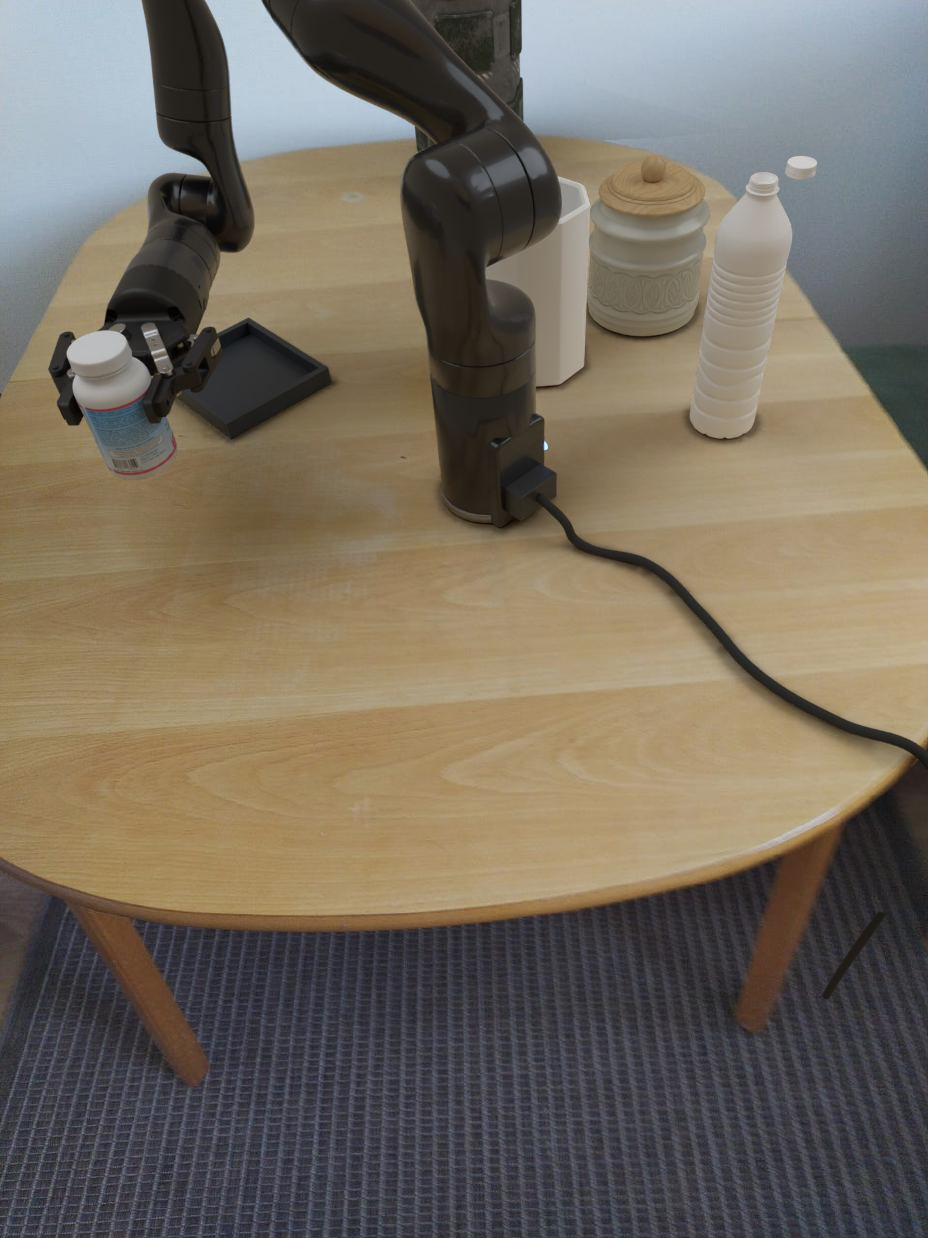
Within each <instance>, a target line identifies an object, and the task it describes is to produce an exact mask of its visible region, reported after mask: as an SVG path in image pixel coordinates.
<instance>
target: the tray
mask: <svg viewBox="0 0 928 1238" xmlns="http://www.w3.org/2000/svg"><path fill="white" fill-rule="evenodd" d="M217 336H218V338H219V342H220V345H221V349H222V352H223V355H222V357H221V359H220V361H219V362H218V364H217V366H216V368H215V370H214V371H213V373H212V375H211V377H210V378H209V380H208V382H207V384H206V386H205V387H204V389H203V390H202V391H200V392H196V393H194V392H191V391H190V389H186V390H182V393H181V395H179V396H178V397H176V399H177V400H179V401H180V402H182V403H183V404H184V405H186V406H187V407H189V408H190V409H191V410H192V411H193V412H195V413H196V414H198V415H199V416H200V417H202V418H203V419H204V420H206V421H207V422H208V423H210V424H211V425H212V426H213V427H214V428H216V429H218V430H219V431H220V432H222V433H223V434H224V435H225V436H226V437H228V438H229V439H231V440H233V439H235V438H236V437H238V436H240V435H241V434H243V433H245V432H247V431H249V430H250V429H253V428H254V427H256V426H257V425H259V424H261V423H263V422H265V421H267V420H268V419H270V418H271V417H273V416H275V415H277V414H279V413H281V412H282V411H284V410H286V409H287V408H289V407H291V406H293V405H295V404H297V403H298V402H300V401H302V400H303V399H305V398H307V397H309V396H311V395H312V394H314V393H316V392H317V391H319V390H321V389H323V388H324V387H325V388H326V386H328V385H330V384H331V383H332V378H331V373H330V368H329V367H328V366H327V365H325V364H324V363H322V362H321V361H319V360H317V359H316V358H314V357H312V356H311V355H309V354H308V353H307V352H305V351H303V350H301V349H299V347H296V346H295V345H294V344H292V343H290V342H288V341H287V340H285V339H284V338H282V337H281V336H279V335H277V334H276V333H274V332H273V331H272V330H270V329H268V328H266V327H265V326H263V325H262V324H260V323H259V322H257V321H255V320H254V319H252V318H250V317H246V318H244V319H243V320H240V321H239V322H236V323H234V324H233V325H231V326H229V327H226V328H225V329H222V330H221V331H219V332H217ZM186 356H187V355H186ZM186 356H185V357H186ZM185 357H183V358H182V359H180V360H179V361H177V362H176V363H174V364H172V366H173V368H177V367H182V365H181V364H182V362H183V361H184V359H185ZM154 375H158V373H155V374H154Z"/></svg>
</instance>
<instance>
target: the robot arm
mask: <svg viewBox="0 0 928 1238" xmlns="http://www.w3.org/2000/svg"><path fill="white" fill-rule="evenodd" d="M140 1H141V5H142V11H143V15H144V22H145V26H146V32H147V39H148V41H147V42H148V47H149V55H150V67H151V77H152V78H151V79H152V87H153V97H154V109H155V118H156V127H157V132H158V133H157V134H158V137H159V139H160V141H161V142H162V144H163V145H164V146H166V147H167V148H169V149H170V150H172V151H175V152H177V153H179V154H183V155H185V156H187V157H190V158H193V159H195V160H197V161H198V162H200V163H201V164H202V165H203V167H205V169H206V171H207V172H208V174H209V175H210V176H207V175H199V174H189V173H182V172H167V173H163V174H161V175H159V176H157V177H156V178H155V179H154V180H152V182H151V183H150V185H149V187H148V189H147V196H146V208H147V209H146V210H147V211H146V212H147V219H148V224H147V230H146V231H147V232H146V236H145V238H144V240H143V243H142V244H141V246H140V248H139V250H138V251H137V253H136V254H135V255H134V256H133V257H132V259H131V260H130V262H129V263H128V264H127V267H126V268H125V270H124V272H123V274H122V276H121V278H120V280H119V282H118V284H117V286H116V288H115V289H114V292H113V294H112V296H111V298H110V300H109V301H108V304H107V306H106V309H105V314H104V321H103V325H102V327H100V328H99V329H97V330H96V331H95V332H97V331H115V332H119V333H121V334H122V335H123V336H125V338H126V340H127V342H128V345H129V347H130V348H131V351H132V357H134V358H136V359H138V360H140V361H141V362H142V363H143V364H144V365H145V366H146V367H147V369H148V371H149V373H150V376H151V378H152V381H151V383H150V385H149V388H148V390H147V393H146V395H145V397H144V400H143V408H144V410H145V413H146V415H147V418H148V421H149V423H150V424H158V423H160V422H161V420H162V417H168V415H169V414H170V413H171V411H172V407H173V405H174V402H175V400H176V398H177V397H178V396H179V395H181V393H182V390H186V389H190V391H191V392H194V393H196V392H200V391H202V390H203V389H204V387H205V386H206V384H207V382H208V380H209V378H210V377H211V375H212V373H213V371H214V370H215V368H216V366H217V364H218V362H219V361H220V359H221V357H222V355H223V352H222V349H221V345H220V342H219V338H218V336H217V333H218V332H217V329H216V327H214V326H206V327H204V328H202V329H201V331H200V333H199V334H197V332H198V330H199V327H200V325H201V322H202V320H203V317H204V314H205V312H206V310H207V307H208V303H209V299H210V292H211V289H212V286H213V285H214V281H215V280H216V275H217V274H218V272H219V268H220V263H221V253H224V254H236V253H240V252H242V251H244V250H245V249H246V248H247V246H248V245H249V244H250V242H251V241H252V239H253V236H254V232H255V227H256V217H255V210H254V205H253V200H252V198H251V194H250V191H249V187H248V184H247V182H246V179H245V176H244V173H243V170H242V165H241V163H240V159H239V154H238V151H237V147H236V141H235V135H234V130H233V129H234V128H233V116H232V113H233V112H232V94H231V93H232V92H231V77H230V75H231V74H230V65H229V58H228V57H229V56H228V52H227V48H226V45H225V40H224V37H223V35H222V33H221V30H220V27H219V25H218V23H217V20H216V19H215V17H214V15H213V13H212V10H211V9H210V6H209V4H208V3H207V1H206V0H140ZM260 1H261V3H262V6H263V7H264V9H265V11H266V13H267V14H268V15H269V17H270V18H271V20H272V21H273V23H274V24H275V26H276V27H277V28H278V29H279V31H280V32H281V33H282V34H283V36H284V37H285V39H286V40H287V42H289V44H290V45H291V47H292V48H293V49H294V50H295V52H296V53H297V54H298V56H299V57H300V58H301V59H302V60H303V62H304V63H305V64H306V65H307V66H308V67H309V68H310V69H311V70H312V71H313V72H314V73H315V74H316V75H318V76H319V77H320V78H322V79H323V80H324V81H326V82H328V83H330V84H331V85H333V86H334V87H336V88H338V89H340V90H341V91H343V92H345V93H347V94H349V95H351V96H353V97H356V98H357V99H360V100H362V101H364V102H366V103H368V104H371V105H373V106H375V107H378V108H380V109H382V110H384V111H387V112H389V113H391V114H393V115H395V116H397V117H398V118H400V119H402V120H404V121H406V122H408V123H409V124H411V125H412V126H414V127H415V126H416V127H417V128H418V129H419V130H421V131H422V132H423V133H425V134H426V135H427V136H428V137H429V138H430V139H431V140H432V141H433V142H434V143H435V144H436V145H433V146H431V147H428V148H426V149H424V150H421V151H419V152H418V151H417V152H416V153H415V154H413V155H411V156H410V158H409V159H408V160H407V161H406V163H405V165H404V167H403V170H402V174H401V178H400V187H399V200H400V202H399V203H400V214H401V222H402V227H403V233H404V239H405V244H406V249H407V255H408V261H409V267H410V274H411V280H412V287H413V293H414V298H415V302H416V306H417V308H418V311H419V315H420V317H421V320H422V324H423V327H424V330H425V338H426V347H427V349H426V350H427V358H428V367H429V379H430V388H431V398H432V407H433V408H432V409H433V417H434V426H435V435H436V437H435V438H436V446H437V454H438V464H439V469H440V470H439V473H440V492H441V498H442V501H443V503H444V505H445V507H447V509H448V510H449V511H450V512H451V513H452V514H454V515H456V516H457V517H459V518H461V519H464V520H467V521H470V522H475V523H481V524H482V523H483V524H493V525H494V526H496V527H497V528H503V527H505V526H506V525H507V524H509V523H510V522H512V521H513V520H514V519H517V520H519V521H520V522H523V521H524V520H526V519H527V518H528V517H530V516H531V515H533V514H534V513H536V512H537V511H538V510H539V509H541V508H543V509H545V510H546V511H547V512H548V513H549V514H550V515H551V516H552V517H553V518H554V519H555V520H556V521H557V522H558V523H559V524H560V526H561V528H563V530H564V533H565V536H566V538H567V540H568V541H569V543H571V544H572V545H574V546H575V547H576V548H577V549H579V550H581V551H582V552H584V553H587V554H589V555H593V556H597V557H601V558H604V559H610V560H614V561H620V562H627V563H630V564H635V565H636V566H639V567H642V568H644V569H645V570H647V571H649V572H650V573H653V574H654V575H656V576H657V577H658V578H660V579H661V580H662V581H663V582H665V584H667V585H668V586H669V587H670V588H671V589H672V590H673V591H674V592H675V593H676V595H678V597H679V598H680V599H681V600H682V601H683V603H684V604H685V605H686V606H687V607H688V608H689V609H690V610H691V611H692V612H693V613H694V615H695V616H696V617H697V618H698V619H699V620H700V621H701V622H702V623H703V624H704V625H705V626H706V627H707V628H708V630H709V631H710V632H711V633H712V635H714V637H715V638H716V639H717V640H718V642H719V643H720V644H721V646H722V647H723V648H724V649H725V650H726V652H727V653H728V654H729V655H730V657H732V659H733V660H734V661H735V662H736V663H737V664H738V665H739V667H741V668H742V669H743V670H744V671H745V672H746V673H747V674H749V675H750V676H751V677H752V678H753V679H754V680H755V681H757V682H758V683H759V684H761V685H762V686H763V687H765V688H766V689H768V690H769V691H771V692H772V694H775V695H776V696H777V697H779V698H781V699H782V700H784V701H786V702H787V703H788V704H790V705H792V706H794V707H796V708H797V709H799V710H801V711H803V712H805V713H806V714H809V715H811V716H813V717H814V718H817V719H819V720H821V721H823V722H825V723H826V724H828V725H831V726H833V727H835V728H837V729H839V730H841V731H843V732H846V733H848V734H850V735H854V736H858V737H861V738H864V739H869V740H872V741H876V742H880V743H884V744H887V745H891V746H894V747H897V748H900V749H902V750H903V751H906V752H907V753H909V754H911V755H913V756H914V757H915V758H916V759H917V760H918V761H919V762H920V763H921V764H922V765H923V767H924V768H925V769H926V770H928V751H927V750H926V749H925V748H924V747H923V746H921V745H920V744H919V743H917V742H915V741H913V740H911V739H910V738H907V737H904V736H902V735H900V734H897V733H894V732H889V731H885V730H882V729H878V728H874V727H869V726H866V725H862V724H858V723H855V722H852V721H850V720H848V719H845V718H843V717H841V716H839V715H837V714H835V713H833V712H831V711H829V710H827V709H825V708H823V707H821V706H819V705H817V704H815V703H813V702H811V701H809V700H807V699H806V698H804V697H802V696H800V695H799V694H797V693H795V692H793V691H791V690H790V689H788V688H787V687H786V686H784V685H782V684H780V683H779V681H777V680H775V679H773V678H772V677H771V676H770V675H768V674H767V673H766V672H765V671H763V670H762V669H760V668H759V667H758V666H757V665H756V664H755V663H753V662H752V661H751V660H750V659H749V658H748V657H747V656H746V654H744V653H743V651H741V649H740V648H739V647H738V646H737V645H736V644H735V642H734V641H733V639H731V637H730V636H729V635H728V634H727V632H726V631H725V630H724V629H723V628H722V626H721V625H720V624H719V622H717V621H716V619H714V617H713V616H712V615H710V613H709V612H708V611H707V610H706V609H705V608H704V607H703V606H702V605H701V604H700V603H699V602H698V601H697V600H696V599H695V598H694V596H693V595H692V594H691V593H690V592H689V590H688V589H686V587H685V586H684V585H683V584H682V583H681V582H680V581H679V580H678V579H677V578H676V577H675V576H674V575H673V574H672V573H670V572H669V571H668V570H667V569H665V568H664V567H663V566H661V565H660V564H658V563H656V562H654V560H652V559H649V558H646V557H645V556H642V555H639V554H635V553H632V552H627V551H622V550H614V549H608V548H604V547H600V546H596V545H594V544H591V543H589V542H587V541H585V540H584V539H582V538H581V537H580V536H578V535H577V533H576V532H575V529H574V526H573V524H572V522H571V521H570V520H569V518H568V517H567V516H566V515H565V513H563V511H562V510H560V508H558V507H557V506H556V505H555V504H554V503H553V502H552V500H553V499H554V498H556V497H557V492H558V491H557V487H558V485H557V483H558V479H557V478H558V473H557V472H556V471H554V470H552V469H551V468H549V467H547V466H546V465H545V451H546V450H548V448H549V447H548V444H547V442H546V441H545V433H546V432H545V428H546V427H545V421H546V420H545V417H543V416H542V415H541V414H539V413H537V386H536V314H535V308H534V305H533V302H532V300H531V299H530V298H529V296H528V295H527V294H526V293H525V292H523V291H522V290H521V289H519V288H517V287H515V286H513V285H511V284H508V283H505V282H501V281H497V280H490V279H486V267H489V266H491V265H493V264H495V263H497V262H499V261H502V260H504V259H506V258H508V257H510V256H512V255H514V254H517V253H519V252H521V251H523V250H525V249H527V248H529V247H531V246H533V245H535V244H536V243H538V242H540V241H541V240H543V239H544V238H546V237H547V236H548V235H549V234H551V233H552V231H553V230H554V229H555V228H556V226H557V224H558V222H559V219H560V216H561V211H562V195H561V187H560V183H559V180H558V177H557V176H558V173H557V171H556V168H555V166H554V164H553V162H552V160H551V158H550V156H549V154H548V152H547V151H546V149H545V148H544V146H543V144H542V143H541V142H540V141H541V140H539V138H538V137H537V136H536V135H535V133H534V132H533V130H531V128H530V127H529V126H528V125H527V124H526V123H525V122H523V121H522V120H521V119H520V118H519V116H518V115H517V114H516V113H515V112H514V111H513V110H512V109H511V108H510V107H509V106H508V105H507V104H506V103H505V102H504V101H503V100H502V99H501V98H500V97H499V96H498V95H497V94H496V93H495V92H494V91H493V90H492V89H491V88H490V87H489V86H488V85H486V84H485V83H484V82H483V81H482V80H481V79H480V78H479V77H478V76H477V75H476V74H475V73H474V72H473V71H472V70H471V69H470V68H469V67H468V66H467V64H466V63H465V62H464V61H463V60H462V59H461V58H460V57H459V56H458V55H457V54H456V53H455V52H454V51H453V49H452V48H451V47H450V46H449V45H448V44H447V43H446V42H445V40H444V39H443V38H442V37H441V36H440V34H439V33H438V32H437V31H436V30H435V28H434V27H433V26H432V25H431V24H430V22H429V21H428V20H427V19H426V18H425V17H424V15H423V14H422V13H421V12H420V11H419V9H418V8H417V7H416V6H415V5H414V3H413V2H412V1H411V0H260ZM77 339H78V338H76V336H75V334H74V332H73V331H69V330H68V331H64V332H62V333H60V334H59V336H58V339H57V342H56V344H55V347H54V350H53V353H52V356H51V359H50V362H49V365H48V369H47V370H48V372H49V374H50V376H51V379H52V381H53V384H54V385H55V387H56V390H57V392H58V393H59V395H58V399H57V400H56V406H57V408H58V410H59V412H60V415H61V416H62V419H63V420H64V421H65V422H66V424H67V425H68V426H69V427H73V426H74V427H76V426H80V425H81V422H82V420H83V418H84V415H83V413H82V411H81V409H80V407H79V405H78V403H77V401H76V398H75V396H74V393H73V380H74V378H75V376H76V374H75V372H74V371H73V370H72V369H71V365H70V363H69V360H68V358H67V350H68V348H69V346H70V345H71V344H72V343H73V342H74V341H75V340H77ZM186 355H187V356H186ZM185 356H186V357H185ZM183 357H185V359H184V361H183V362H182V364H181V365H182V367H177V368H173V366H172V364H174V363H176V362H177V361H179V360H180V359H182V358H183ZM155 373H158V375H154V374H155ZM887 915H888V913H886V912H884V911H878V912H877V913H876V914H875V915H874V917H873V918H872V919H871V920H870V922H869V923H868V924H867V926H866V927H865V928H864V929H863V930H862V932H861V933H860V935H859V936H858V937H857V938H856V940H855V942H853V945H852V946H851V948H850V949H849V950H848V952H847V953H846V955H845V956H844V957H843V959H842V961H840V963H839V965H838V967H837V969H836V970H835V972H834V973H833V975H832V977H831V978H830V979H829V982H828V983H827V984H826V986H825V989H824V990H823V992H822V993H821V997H822V998H823V999H824V1000H830V999H831V997H832V995H833V993H834V992H835V990H836V989H837V987H838V986H839V984H840V982H841V981H842V979H843V977H844V976H845V975H846V973H847V972H848V971H849V969H850V967H851V966H852V964H853V963H854V961H855V960H856V959H857V958H858V956H859V954H860V953H861V952H862V951H863V949H864V948H865V947H866V945H867V944H868V943H869V941H870V939H871V938H872V937H873V935H874V934H875V933H876V931H877V930H878V928H879V926H880V925H882V923H883V921H884V920H885V918H886V917H887Z"/></svg>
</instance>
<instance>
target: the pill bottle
mask: <svg viewBox="0 0 928 1238" xmlns="http://www.w3.org/2000/svg"><path fill="white" fill-rule="evenodd" d="M96 331H97V332H96ZM96 331H94V332H93V331H92V332H90V333H87V334H84V335H82V336H80V337H79V338H76V339H77V340H75V341H74V342H73V343H72V344H71V345H70V346H69V348H68V350H67V358H68V360H69V363H70V365H71V369H72V370H73V371H74V372H75V374H76V376H75V378H74V380H73V393H74V396H75V398H76V401H77V403H78V405H79V407H80V409H81V411H82V413H83V415H84V416H83V418H84V420H85V422H86V424H87V426H88V429H89V430H90V433H91V435H92V437H93V440H94V441H95V444H96V446H97V449H98V450H99V453H100V455H101V456H102V458H103V462H105V463H104V464H105V465H106V467H107V469H108V471H109V472H110V473H111V474H112V475H113V476H115V477H116V478H118V479H122V480H127V481H140V480H141V481H143V480H147V479H150V478H153V477H155V476H157V475H159V474H161V473H163V472H164V471H165V470H166V469H168V467H170V466H171V465H172V464H173V462H174V461H175V460H176V458H177V455H178V451H179V450H178V449H179V448H178V443H177V440H176V437H175V435H174V432H173V430H172V428H171V424H170V423H169V420H168V418H167V417H168V416H166V417H162V420H161V422H160V423H158V424H150V423H149V421H148V418H147V415H146V413H145V410H144V408H143V400H144V397H145V395H146V393H147V390H148V388H149V385H150V383H151V381H152V378H153V377H152V376H150V373H149V371H148V369H147V367H146V366H145V365H144V364H143V363H142V362H141V361H140V360H138V359H136V358H134V357H132V351H131V348H130V347H129V345H128V342H127V340H126V338H125V336H123V335H122V334H121V333H119V332H115V331H98V330H96Z"/></svg>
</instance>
